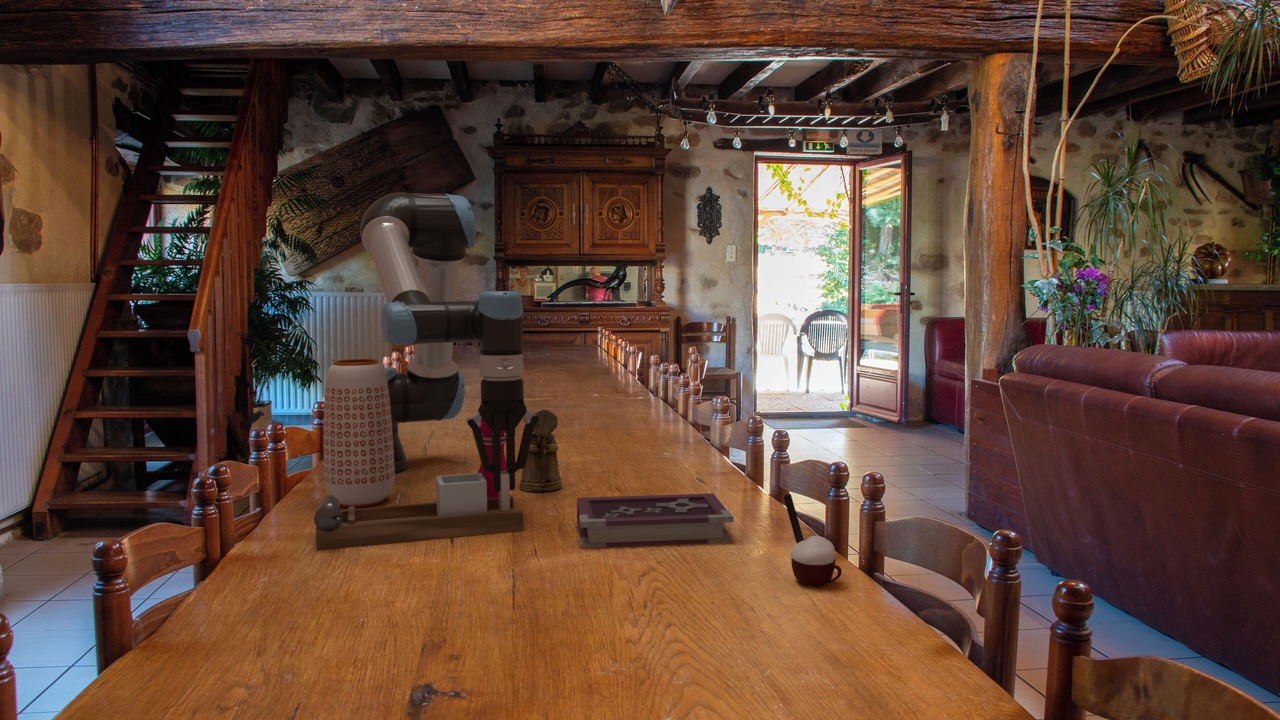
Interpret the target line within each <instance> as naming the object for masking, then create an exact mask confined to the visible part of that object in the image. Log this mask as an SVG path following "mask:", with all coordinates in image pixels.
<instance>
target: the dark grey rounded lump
mask: <svg viewBox="0 0 1280 720" xmlns="http://www.w3.org/2000/svg"><path fill="white" fill-rule="evenodd" d="M341 510H342V509H341V506H340V503H339V500H338V499H337V498H335V497H334V495H329V494H327V495H326V496H325V497H324V498H323V499H322V500H321V502H320V505H319V508H318V509H317V510H316V512H315V514H314V519H313V520H314V521H313V522H314V525H315V527H317V528H318V529H320V530H321V531H324V530H325V529H326V528H328V530H329V531H328V530H327V529H326V530H325V531H324V532H332V531H333V530H334V531H335V530H336V529H338V528H339V527H340V525H341V524H342V521H343V514H342V512H341ZM333 527H334V529H333V530H332V528H333ZM336 527H337V528H336ZM324 528H325V529H324ZM330 528H331V529H330ZM330 530H331V531H330Z"/></svg>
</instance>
